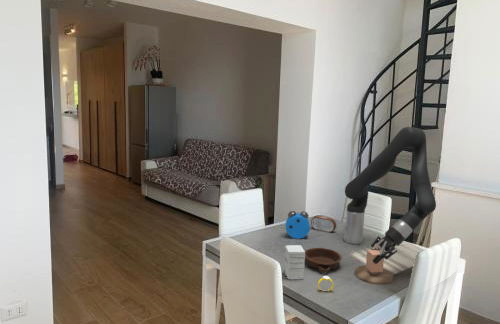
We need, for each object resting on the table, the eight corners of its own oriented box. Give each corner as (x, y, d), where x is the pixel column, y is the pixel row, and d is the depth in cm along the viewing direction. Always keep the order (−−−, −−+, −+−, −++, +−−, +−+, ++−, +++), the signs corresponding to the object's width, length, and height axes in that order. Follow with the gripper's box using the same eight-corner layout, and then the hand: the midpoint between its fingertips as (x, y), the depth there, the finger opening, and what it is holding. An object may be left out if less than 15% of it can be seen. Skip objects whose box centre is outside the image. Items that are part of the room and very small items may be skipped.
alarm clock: (308, 236, 213) (309, 210, 210) (309, 240, 206) (310, 213, 204) (285, 234, 213) (286, 209, 211) (285, 238, 207) (286, 212, 205)
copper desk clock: (336, 232, 219) (337, 218, 218) (334, 234, 217) (335, 220, 215) (311, 227, 227) (312, 214, 226) (309, 228, 225) (310, 215, 223)
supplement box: (283, 272, 167) (284, 245, 165) (300, 272, 168) (301, 244, 165) (286, 280, 160) (288, 251, 158) (304, 279, 160) (305, 251, 158)
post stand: (350, 277, 163) (351, 262, 162) (360, 264, 177) (361, 250, 176) (388, 287, 155) (390, 271, 154) (396, 273, 169) (397, 258, 168)
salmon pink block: (371, 272, 162) (372, 254, 161) (365, 267, 168) (367, 250, 166) (382, 271, 163) (384, 254, 162) (376, 266, 168) (378, 249, 167)
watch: (331, 290, 153) (333, 276, 152) (333, 293, 150) (335, 279, 149) (316, 288, 153) (318, 275, 152) (317, 292, 150) (319, 278, 149)
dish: (303, 274, 166) (304, 263, 165) (302, 254, 188) (302, 244, 187) (344, 277, 164) (344, 266, 163) (338, 256, 186) (338, 247, 185)
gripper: (385, 221, 171) (358, 247, 171) (402, 232, 157) (373, 261, 157) (395, 232, 172) (368, 258, 172) (413, 244, 158) (384, 272, 158)
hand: (371, 259), depth 164 cm, fingers closed on salmon pink block, 5 cm apart
